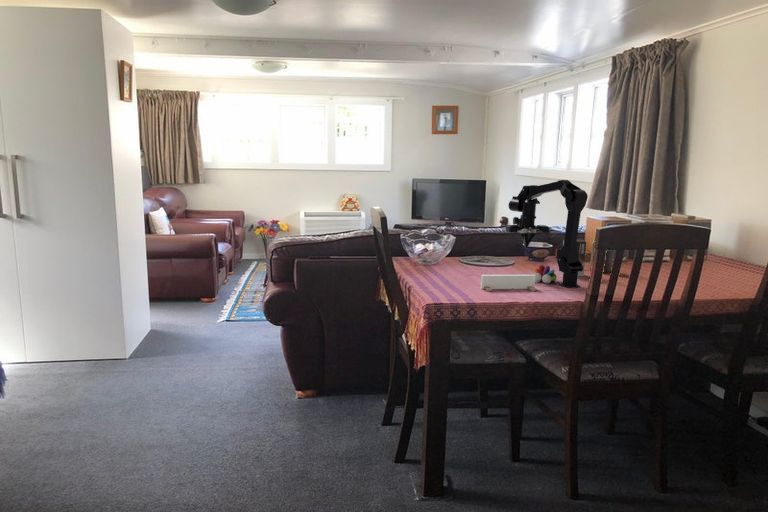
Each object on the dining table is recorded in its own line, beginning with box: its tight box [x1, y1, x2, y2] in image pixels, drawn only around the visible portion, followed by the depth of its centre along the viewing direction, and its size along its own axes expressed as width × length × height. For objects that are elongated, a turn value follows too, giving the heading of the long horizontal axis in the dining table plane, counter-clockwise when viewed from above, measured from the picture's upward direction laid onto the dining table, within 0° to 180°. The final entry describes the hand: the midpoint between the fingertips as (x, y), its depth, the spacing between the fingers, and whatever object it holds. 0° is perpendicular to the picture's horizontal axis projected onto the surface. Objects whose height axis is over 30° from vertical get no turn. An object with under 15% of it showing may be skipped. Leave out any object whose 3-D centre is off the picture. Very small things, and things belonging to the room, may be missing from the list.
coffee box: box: [560, 238, 587, 277], centre depth 242 cm, size 9×6×16 cm
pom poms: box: [533, 264, 558, 284], centre depth 227 cm, size 8×10×7 cm
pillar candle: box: [589, 241, 614, 274], centre depth 252 cm, size 10×10×15 cm
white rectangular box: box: [480, 274, 537, 292], centre depth 211 cm, size 6×22×6 cm, turn 97°
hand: (525, 247), depth 240 cm, fingers closed
